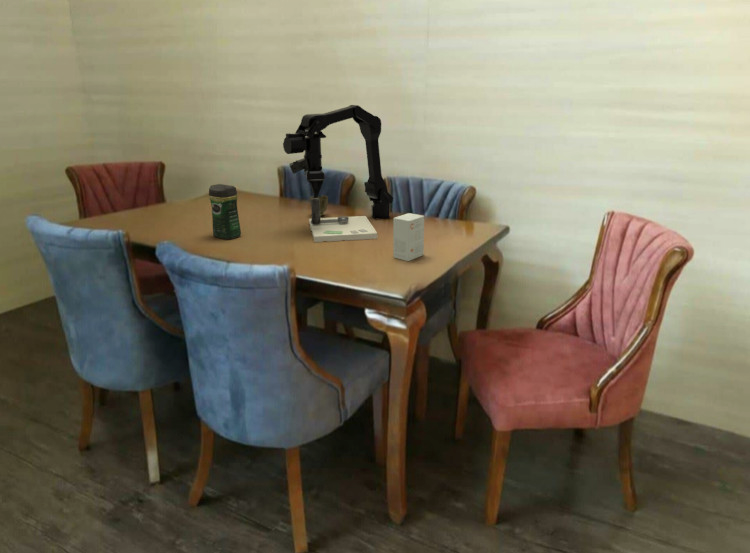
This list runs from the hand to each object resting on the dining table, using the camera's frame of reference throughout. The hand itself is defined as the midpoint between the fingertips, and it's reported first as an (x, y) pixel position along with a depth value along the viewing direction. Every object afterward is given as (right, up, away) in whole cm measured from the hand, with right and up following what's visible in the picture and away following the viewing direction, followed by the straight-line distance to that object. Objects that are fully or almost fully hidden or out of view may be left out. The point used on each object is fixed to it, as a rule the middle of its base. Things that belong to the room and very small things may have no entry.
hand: (314, 195), depth 207 cm
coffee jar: (-31, -15, -3) cm, 35 cm away
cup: (-1, -5, +24) cm, 25 cm away
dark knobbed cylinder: (+5, -10, +4) cm, 12 cm away
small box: (+32, -23, -26) cm, 47 cm away
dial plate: (+10, -13, +3) cm, 16 cm away
